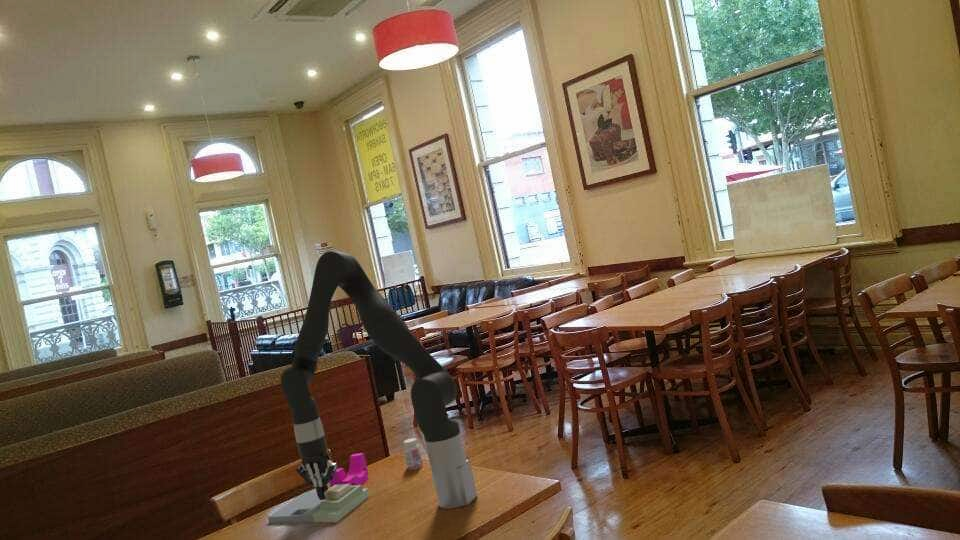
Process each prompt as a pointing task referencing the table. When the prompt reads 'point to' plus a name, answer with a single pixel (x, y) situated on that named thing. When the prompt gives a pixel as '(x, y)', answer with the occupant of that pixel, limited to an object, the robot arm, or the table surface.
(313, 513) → the board
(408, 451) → the pill bottle
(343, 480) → the toy block
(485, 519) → the table surface
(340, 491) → the birch block
